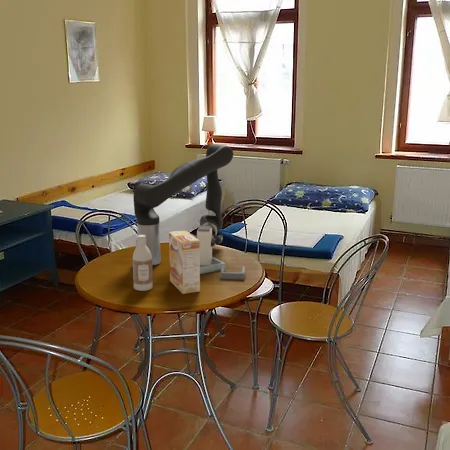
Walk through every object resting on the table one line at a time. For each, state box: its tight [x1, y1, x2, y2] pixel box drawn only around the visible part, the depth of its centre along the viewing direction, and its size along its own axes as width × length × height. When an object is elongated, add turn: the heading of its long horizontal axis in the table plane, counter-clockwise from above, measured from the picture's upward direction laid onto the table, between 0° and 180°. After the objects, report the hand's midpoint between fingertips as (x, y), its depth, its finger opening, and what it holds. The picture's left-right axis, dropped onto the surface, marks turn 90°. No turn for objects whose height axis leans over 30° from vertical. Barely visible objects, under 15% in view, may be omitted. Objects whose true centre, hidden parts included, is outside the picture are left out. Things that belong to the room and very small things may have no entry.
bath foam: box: [132, 235, 154, 292], centre depth 199 cm, size 7×7×20 cm
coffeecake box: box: [168, 230, 201, 295], centre depth 201 cm, size 15×7×20 cm, turn 23°
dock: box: [220, 265, 246, 281], centre depth 215 cm, size 8×9×2 cm
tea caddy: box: [196, 225, 213, 265], centre depth 223 cm, size 6×6×15 cm
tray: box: [200, 256, 226, 275], centre depth 224 cm, size 14×14×3 cm
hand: (204, 244), depth 220 cm, fingers closed on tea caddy, 5 cm apart
